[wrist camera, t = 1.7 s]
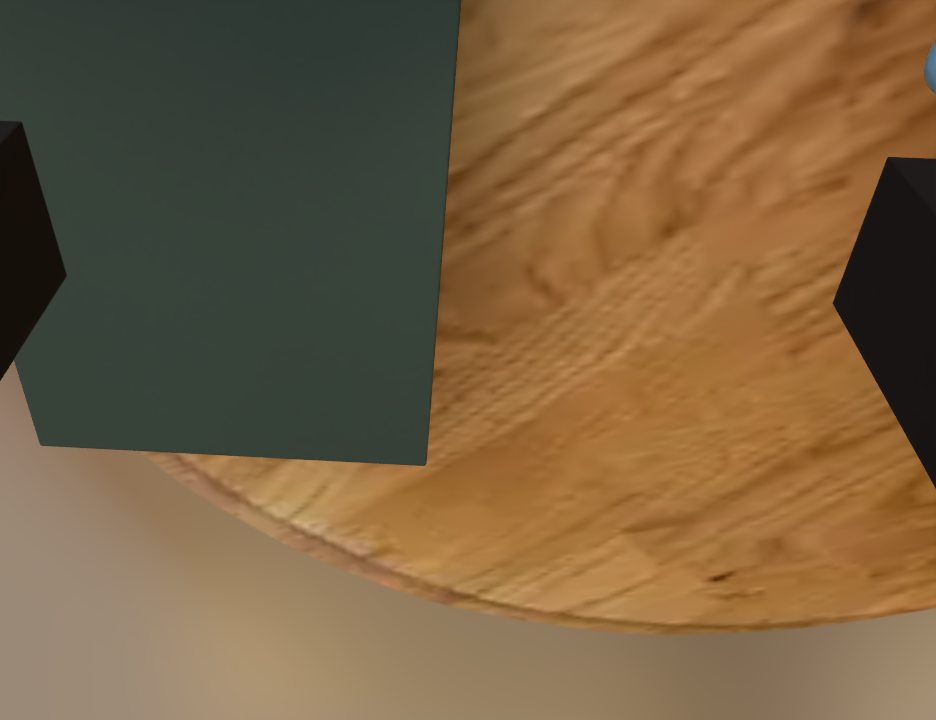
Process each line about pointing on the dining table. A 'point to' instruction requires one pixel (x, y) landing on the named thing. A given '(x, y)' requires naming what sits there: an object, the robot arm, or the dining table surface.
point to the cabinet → (237, 221)
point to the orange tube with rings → (931, 68)
